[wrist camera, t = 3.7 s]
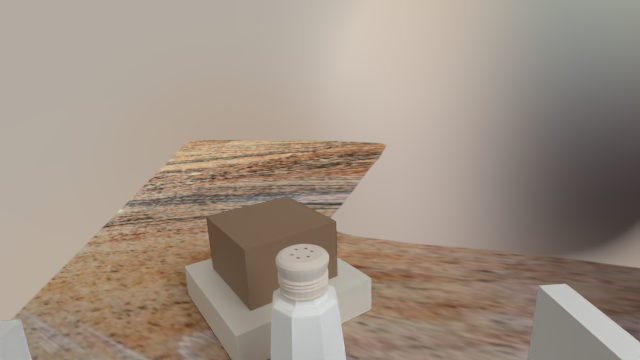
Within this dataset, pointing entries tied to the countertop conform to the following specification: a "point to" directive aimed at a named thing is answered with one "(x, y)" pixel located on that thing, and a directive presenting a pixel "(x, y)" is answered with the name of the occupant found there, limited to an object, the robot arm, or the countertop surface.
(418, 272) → the countertop surface
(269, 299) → the stand
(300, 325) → the salt shaker
